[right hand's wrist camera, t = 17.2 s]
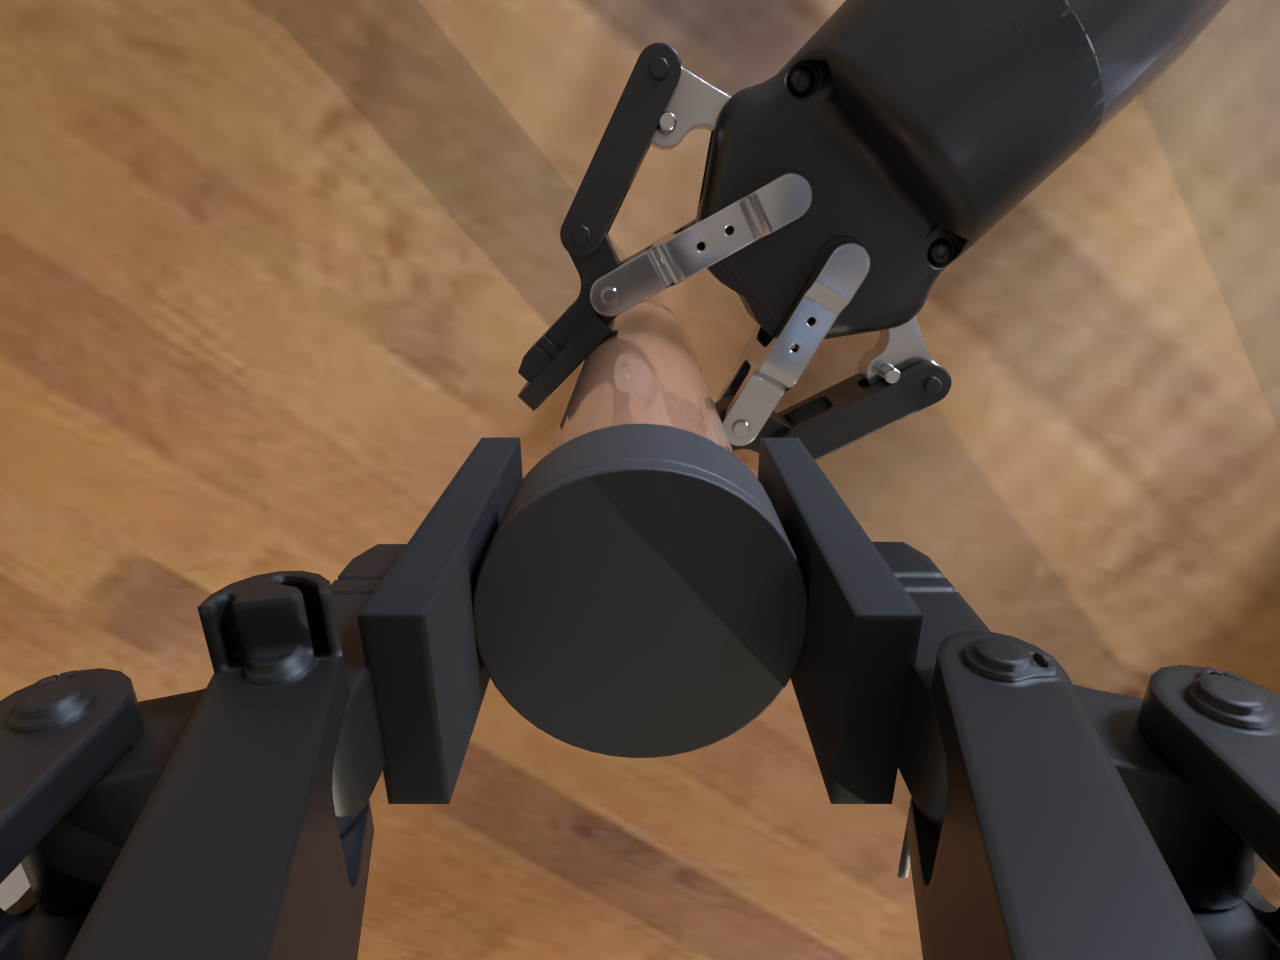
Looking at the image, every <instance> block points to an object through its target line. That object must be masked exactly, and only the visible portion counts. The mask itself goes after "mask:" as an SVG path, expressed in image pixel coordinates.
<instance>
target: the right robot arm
mask: <svg viewBox="0 0 1280 960" xmlns="http://www.w3.org/2000/svg"><path fill="white" fill-rule="evenodd" d="M522 480H523V478H522V462H521V447H520V438H481V440H480V441H479V442H478V444H477V445H476V447H475V448H474V450H473V451H472V452H471V454H470V455H469V457H468V458H467V460H466V461H465V462H464V464H463V465H462V467H461V468H460V469H459V471H458V472H457V474H456V475H455V477H454V478H453V479H452V481H451V482H450V484H449V485H448V487H447V488H446V489H445V491H444V492H443V494H442V495H441V497H440V498H439V499H438V501H437V502H436V504H435V505H434V507H433V508H432V509H431V511H430V512H429V514H428V515H427V517H426V518H425V519H424V521H423V522H422V524H421V525H420V526H419V528H418V529H417V531H416V532H415V534H414V535H413V536H412V538H411V539H410V541H409V542H408V544H377V545H376V546H374V547H372V548H371V549H369V550H367V551H366V552H364V553H362V554H360V555H359V556H357V557H355V558H354V559H352V560H351V562H350V563H349V564H348V565H347V567H346V568H345V569H344V570H343V571H342V573H341V574H340V575H339V576H338V580H335V581H334V582H333V583H332V585H330V582H329V581H328V580H327V579H325V578H324V577H322V576H321V575H320V574H315V573H310V572H305V571H279V572H273V573H268V574H262V575H257V576H253V577H250V578H247V579H244V580H241V581H238V582H235V583H232V584H230V585H228V586H226V587H224V588H222V589H221V590H219V591H217V592H215V593H213V594H211V595H210V596H209V597H208V598H207V599H206V600H205V601H204V602H203V603H202V604H201V605H200V606H199V607H198V611H199V615H200V619H201V623H202V627H203V631H204V635H205V638H206V642H207V646H208V650H209V654H210V658H211V661H212V665H213V669H214V675H213V677H212V678H211V680H210V682H209V684H208V686H207V688H206V689H202V690H198V691H194V692H189V693H183V694H178V695H173V696H168V697H162V698H157V699H152V700H147V701H142V702H138V701H137V698H136V694H135V691H134V688H133V685H132V682H131V679H130V678H129V677H127V676H126V675H125V674H123V673H122V672H121V671H116V670H109V669H101V668H99V669H90V670H81V671H70V672H65V673H61V674H60V675H59V676H57V674H56V675H53V676H50V677H47V678H44V679H41V680H39V681H38V682H36V683H35V684H33V685H30V686H28V687H26V688H23V689H21V690H19V691H16V692H14V693H13V694H11V695H9V696H8V697H6V698H5V699H3V700H1V701H0V884H1V883H2V882H3V881H4V879H5V878H6V877H7V876H8V875H9V874H10V873H11V872H12V871H13V870H14V869H15V868H16V867H17V866H18V865H19V864H20V863H21V864H22V867H23V869H24V871H25V874H26V876H27V878H28V881H29V883H30V885H31V887H30V888H29V889H28V890H27V891H26V892H25V893H24V895H23V896H22V897H21V898H20V899H19V900H18V901H17V902H16V903H14V904H13V905H12V906H11V907H9V908H8V909H7V910H6V911H3V910H2V909H1V908H0V960H357V956H358V948H359V940H360V933H361V925H362V918H363V910H364V902H365V895H366V887H367V879H368V872H369V864H370V857H371V849H372V841H373V834H374V827H373V820H372V813H371V808H370V802H369V798H370V796H371V794H372V792H373V790H374V788H375V785H376V783H377V781H378V779H379V777H380V775H381V772H382V770H383V773H384V779H385V785H386V791H387V797H388V803H389V804H449V803H450V800H451V797H452V794H453V791H454V787H455V784H456V781H457V778H458V775H459V772H460V769H461V766H462V763H463V760H464V756H465V753H466V750H467V747H468V744H469V741H470V738H471V735H472V732H473V729H474V725H475V722H476V719H477V716H478V713H479V710H480V707H481V704H482V701H483V697H484V694H485V691H486V688H487V685H488V682H489V679H490V676H489V674H488V673H487V671H486V669H485V666H484V664H483V662H482V659H481V657H480V654H479V651H478V648H477V644H476V639H475V630H474V620H473V594H474V589H475V584H476V579H477V576H478V573H479V570H480V567H481V565H482V562H483V559H484V557H485V555H486V553H487V550H488V548H489V546H490V544H491V541H492V539H493V537H494V535H495V533H496V530H497V528H498V526H499V524H500V521H501V519H502V517H503V515H504V513H505V510H506V508H507V506H508V504H509V502H510V500H511V498H512V496H513V494H514V492H515V491H516V489H517V487H518V486H519V484H520V483H521V482H522ZM758 481H759V482H760V483H761V485H762V486H763V488H764V490H765V491H766V493H767V495H768V497H769V498H770V500H771V502H772V504H773V507H774V509H775V511H776V513H777V515H778V518H779V520H780V522H781V524H782V526H783V529H784V531H785V533H786V535H787V537H788V540H789V542H790V544H791V547H792V549H793V551H794V553H795V555H796V557H797V560H798V563H799V565H800V568H801V570H802V573H803V576H804V580H805V585H806V590H807V594H808V614H807V625H806V635H805V643H804V647H803V651H802V654H801V656H800V659H799V661H798V664H797V666H796V668H795V671H794V672H793V674H792V676H791V677H790V678H791V681H792V684H793V687H794V690H795V693H796V696H797V699H798V702H799V706H800V709H801V712H802V715H803V718H804V721H805V724H806V727H807V730H808V733H809V737H810V740H811V743H812V746H813V749H814V752H815V755H816V758H817V761H818V764H819V768H820V771H821V774H822V777H823V780H824V783H825V786H826V789H827V792H828V795H829V799H830V802H831V804H892V799H893V793H894V787H895V781H896V775H897V769H898V768H899V770H900V772H901V774H902V776H903V779H904V781H905V783H906V785H907V787H908V789H909V792H910V794H911V796H912V797H911V802H910V808H909V813H908V819H907V824H906V830H905V835H904V841H903V847H902V852H901V858H900V864H899V871H898V877H901V878H905V879H907V878H908V873H909V867H910V864H911V870H912V878H913V885H914V893H915V901H916V908H917V916H918V923H919V931H920V939H921V946H922V954H923V960H1280V907H1279V908H1278V909H1277V908H1275V907H1274V906H1273V905H1272V904H1271V903H1269V902H1268V901H1267V900H1266V899H1265V898H1264V897H1263V896H1262V895H1261V894H1260V893H1259V892H1258V891H1257V890H1256V889H1255V887H1254V886H1253V885H1252V884H1251V882H1252V880H1253V878H1254V875H1255V873H1256V871H1257V868H1258V866H1259V864H1260V861H1261V859H1262V860H1263V861H1264V862H1265V863H1266V864H1267V865H1268V866H1269V867H1270V868H1271V869H1272V870H1273V871H1274V872H1275V873H1276V874H1277V875H1278V876H1279V877H1280V696H1278V695H1276V694H1275V693H1273V692H1272V691H1270V690H1268V689H1267V688H1264V687H1262V686H1260V685H1257V684H1255V683H1252V682H1250V681H1248V680H1246V679H1245V678H1243V677H1241V676H1239V675H1236V674H1233V673H1230V672H1226V671H1225V672H1222V671H1221V670H1218V669H1213V668H1209V667H1194V666H1185V665H1179V666H1171V667H1164V668H1161V669H1159V670H1158V671H1157V672H1155V673H1154V674H1153V675H1151V677H1150V680H1149V683H1148V687H1147V690H1146V693H1145V696H1144V699H1140V698H1135V697H1130V696H1124V695H1119V694H1114V693H1109V692H1103V691H1098V690H1093V689H1088V688H1084V687H1080V686H1076V685H1072V683H1071V681H1070V679H1069V677H1068V675H1067V673H1066V672H1065V670H1064V669H1063V668H1062V667H1061V666H1060V665H1059V663H1058V662H1057V661H1056V660H1055V659H1054V658H1053V657H1052V656H1050V655H1049V654H1047V653H1045V652H1044V651H1042V650H1041V649H1039V648H1038V647H1036V646H1035V645H1032V644H1030V643H1027V642H1025V641H1022V640H1020V639H1017V638H1015V637H1012V636H1008V635H1003V634H999V633H994V632H991V631H990V630H989V629H988V628H987V626H986V625H985V624H984V623H983V622H982V620H981V619H980V618H979V617H978V616H977V614H976V613H975V612H974V611H973V610H972V608H971V607H970V606H969V605H968V604H967V603H966V601H965V600H964V599H963V598H962V597H961V595H960V594H959V593H958V592H955V588H954V587H953V586H952V585H951V583H950V582H949V581H948V580H947V579H946V578H943V574H942V573H941V571H940V570H939V569H938V568H937V567H936V565H935V564H934V563H933V562H932V561H931V559H930V558H929V557H928V556H926V555H924V554H923V553H921V552H919V551H918V550H916V549H914V548H912V547H911V546H909V545H907V544H906V543H904V542H871V540H870V539H869V537H868V536H867V534H866V533H865V532H864V530H863V529H862V527H861V526H860V524H859V523H858V522H857V520H856V519H855V517H854V516H853V514H852V513H851V512H850V510H849V509H848V507H847V506H846V504H845V503H844V502H843V500H842V499H841V497H840V496H839V495H838V493H837V492H836V490H835V489H834V487H833V486H832V485H831V483H830V482H829V480H828V479H827V477H826V476H825V475H824V473H823V472H822V470H821V469H820V467H819V466H818V465H817V463H816V462H815V460H814V459H813V457H812V456H811V455H810V453H809V452H808V450H807V449H806V448H805V446H804V445H803V443H802V442H801V440H800V439H799V438H760V453H759V468H758Z"/></svg>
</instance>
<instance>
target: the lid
mask: <svg viewBox="0 0 1280 960" xmlns="http://www.w3.org/2000/svg"><path fill="white" fill-rule="evenodd" d="M807 614H808V594H807V590H806V585H805V580H804V576H803V573H802V570H801V568H800V565H799V563H798V560H797V557H796V555H795V553H794V551H793V549H792V547H791V544H790V542H789V540H788V537H787V535H786V533H785V531H784V529H783V526H782V524H781V522H780V520H779V518H778V515H777V513H776V511H775V509H774V507H773V504H772V502H771V500H770V498H769V497H768V495H767V493H766V491H765V490H764V488H763V486H762V485H761V483H760V482H759V481H758V479H757V478H756V477H755V475H754V474H753V473H752V472H751V471H750V470H749V469H748V468H747V467H746V466H745V465H744V464H743V463H742V462H741V461H740V460H739V459H738V458H737V457H736V456H734V455H733V454H732V453H730V452H729V451H727V450H726V449H725V448H723V447H722V446H720V445H718V444H716V443H715V442H713V441H711V440H709V439H707V438H705V437H703V436H700V435H698V434H695V433H692V432H690V431H687V430H683V429H679V428H675V427H671V426H665V425H657V424H624V425H616V426H609V427H605V428H602V429H598V430H594V431H590V432H588V433H586V434H583V435H581V436H578V437H576V438H573V439H571V440H570V441H568V442H566V443H564V444H563V445H561V446H559V447H557V448H556V449H554V450H553V451H552V452H551V453H549V454H548V455H547V456H545V457H544V458H543V459H541V460H540V461H539V462H538V463H537V464H536V465H535V466H534V467H533V468H532V469H531V470H530V471H529V472H528V474H527V475H526V476H525V478H524V479H523V480H522V482H521V483H520V484H519V486H518V487H517V489H516V491H515V492H514V494H513V496H512V498H511V500H510V502H509V504H508V506H507V508H506V510H505V513H504V515H503V517H502V519H501V521H500V524H499V526H498V528H497V530H496V533H495V535H494V537H493V539H492V541H491V544H490V546H489V548H488V550H487V553H486V555H485V557H484V559H483V562H482V565H481V567H480V570H479V573H478V576H477V579H476V584H475V589H474V594H473V620H474V630H475V639H476V644H477V648H478V651H479V654H480V657H481V659H482V662H483V664H484V666H485V669H486V671H487V673H488V674H489V676H490V678H491V679H492V681H493V683H494V685H495V686H496V688H497V689H498V690H499V692H500V693H501V694H502V695H503V697H504V698H505V699H506V700H507V702H508V703H509V704H510V705H511V706H512V707H513V708H514V709H515V710H516V711H518V712H519V713H520V714H521V715H522V716H523V717H524V718H525V719H527V720H528V721H529V722H531V723H532V724H533V725H535V726H536V727H537V728H539V729H541V730H542V731H544V732H546V733H548V734H549V735H551V736H553V737H554V738H557V739H559V740H561V741H563V742H566V743H568V744H570V745H572V746H575V747H578V748H582V749H585V750H588V751H591V752H595V753H600V754H605V755H610V756H619V757H629V758H653V757H662V756H671V755H676V754H680V753H685V752H690V751H693V750H696V749H699V748H702V747H705V746H708V745H711V744H713V743H715V742H717V741H720V740H722V739H724V738H726V737H728V736H730V735H732V734H733V733H735V732H737V731H738V730H740V729H742V728H743V727H745V726H746V725H747V724H749V723H750V722H751V721H753V720H754V719H755V718H756V717H758V716H759V715H760V714H761V713H762V712H763V711H764V710H765V709H766V708H767V707H768V706H769V705H770V704H771V703H772V702H773V701H774V700H775V699H776V698H777V696H778V695H779V694H780V692H781V691H782V690H783V689H784V687H785V686H786V684H787V683H788V681H789V679H790V677H791V676H792V674H793V672H794V671H795V668H796V666H797V664H798V661H799V659H800V656H801V654H802V651H803V647H804V643H805V635H806V625H807Z"/></svg>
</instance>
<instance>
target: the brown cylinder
mask: <svg viewBox="0 0 1280 960" xmlns="http://www.w3.org/2000/svg"><path fill="white" fill-rule="evenodd" d="M614 320H615V322H614V326H613V331H612V332H611V333H610V334H609V335H608V336H607V337H606V338H605V339H604V340H603V341H602V342H601V343H600V344H599V345H598V346H597V347H596V348H595V349H594V350H593V351H592V352H591V353H590V354H589V355H588V357H587V358H586V359H585V360H584V361H583V362H582V364H581V366H580V369H579V371H578V374H577V377H576V379H575V382H574V384H573V387H572V389H571V392H570V395H569V397H568V400H567V402H566V405H565V408H564V410H563V413H562V415H561V418H560V420H559V423H558V426H557V428H556V431H555V433H554V436H553V439H552V441H551V444H550V446H549V449H548V451H547V454H546V456H547V455H548V454H549V453H551V452H552V451H553V450H554V449H556V448H557V447H559V446H561V445H563V444H564V443H566V442H568V441H570V440H571V439H573V438H576V437H578V436H581V435H583V434H586V433H588V432H590V431H594V430H598V429H602V428H605V427H609V426H616V425H624V424H657V425H665V426H671V427H675V428H679V429H683V430H687V431H690V432H692V433H695V434H698V435H700V436H703V437H705V438H707V439H709V440H711V441H713V442H715V443H716V444H718V445H720V446H722V447H723V448H725V449H726V450H727V451H729V452H730V453H732V454H733V455H734V452H733V450H732V447H731V445H730V442H729V440H728V437H727V434H726V432H725V429H724V427H723V424H722V422H721V419H720V416H719V414H718V411H717V409H716V406H715V404H714V401H713V398H712V396H711V393H710V391H709V388H708V386H707V383H706V380H705V378H704V375H703V373H702V370H701V368H700V365H699V362H698V360H697V357H696V355H695V352H694V350H693V347H692V344H691V342H690V339H689V337H688V334H687V332H686V330H685V328H684V327H683V325H682V324H681V322H680V321H679V320H678V319H677V318H676V317H675V316H674V315H673V314H672V313H670V312H669V311H667V310H666V309H664V308H662V307H659V306H657V305H653V304H649V303H639V304H637V305H635V306H633V307H632V308H630V309H628V310H626V311H624V312H623V313H621V314H619V315H618V316H617V317H616V318H615V319H614ZM734 456H735V455H734Z"/></svg>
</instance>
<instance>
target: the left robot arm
mask: <svg viewBox="0 0 1280 960" xmlns="http://www.w3.org/2000/svg"><path fill="white" fill-rule="evenodd" d="M1229 1H1230V0H846V1H845V2H844V3H843V4H842V5H841V6H840V7H839V9H838V10H837V11H836V12H835V13H834V14H833V15H832V16H831V17H830V18H829V19H828V20H827V21H826V22H825V24H824V25H823V26H822V27H821V28H820V29H819V30H818V31H817V32H816V33H815V34H814V35H813V36H812V37H811V38H810V40H809V41H808V42H807V43H806V44H805V45H804V46H803V47H802V48H801V49H800V50H799V51H798V52H797V53H796V54H795V56H794V57H793V58H792V59H791V60H790V61H789V62H788V63H787V64H786V65H785V66H784V67H783V68H782V69H781V70H780V72H779V73H778V74H777V75H775V76H774V77H772V78H771V79H769V80H767V81H765V82H763V83H761V84H759V85H756V86H752V87H749V88H746V89H743V90H741V91H739V92H737V93H736V94H734V95H733V96H732V97H730V96H728V95H727V94H725V93H724V92H722V91H720V90H719V89H717V88H715V87H714V86H712V85H710V84H709V83H707V82H705V81H704V80H702V79H701V78H699V77H697V76H696V75H694V74H692V73H691V72H689V71H687V70H686V69H684V68H683V67H681V61H680V58H679V56H678V54H677V52H676V51H675V50H674V49H673V48H672V47H671V46H669V45H667V44H664V43H655V44H652V45H649V46H648V47H646V48H645V49H644V50H643V52H642V53H641V54H640V56H639V58H638V61H637V63H636V65H635V67H634V69H633V72H632V74H631V76H630V78H629V80H628V82H627V85H626V87H625V89H624V91H623V93H622V96H621V98H620V100H619V102H618V104H617V107H616V109H615V111H614V113H613V115H612V117H611V120H610V122H609V124H608V126H607V128H606V131H605V133H604V135H603V137H602V139H601V142H600V144H599V146H598V148H597V150H596V152H595V155H594V157H593V159H592V161H591V163H590V166H589V168H588V170H587V172H586V174H585V176H584V179H583V181H582V183H581V185H580V187H579V190H578V192H577V194H576V196H575V198H574V201H573V203H572V205H571V207H570V209H569V211H568V214H567V216H566V218H565V220H564V222H563V225H562V227H561V241H562V244H563V246H564V247H565V249H566V250H567V251H568V252H569V254H570V256H571V258H572V260H573V262H574V264H575V266H576V269H577V271H578V273H579V275H580V279H581V291H580V295H579V297H578V299H577V300H576V301H575V302H574V303H573V304H572V305H571V306H570V307H569V308H568V309H567V310H566V311H565V312H564V313H563V315H562V316H561V317H560V318H559V319H558V320H557V321H556V322H555V323H554V324H553V325H552V326H551V327H550V328H549V329H548V330H547V331H546V333H545V334H544V335H543V336H542V337H541V338H540V339H539V340H538V341H537V342H536V343H535V344H534V345H533V346H532V347H531V348H530V350H529V351H528V352H527V353H526V355H525V356H524V358H523V360H522V363H521V366H520V368H519V371H518V373H519V374H520V375H522V376H523V377H524V378H525V379H526V380H527V381H528V382H527V383H526V384H525V386H524V387H523V389H522V390H521V392H520V393H519V395H518V397H519V398H520V399H521V400H522V401H523V402H525V403H526V404H527V405H528V406H529V407H530V408H531V409H532V410H533V411H534V410H535V409H536V408H538V407H539V406H540V405H541V404H542V403H543V402H544V401H545V400H546V399H547V398H548V397H549V395H550V394H551V393H552V392H553V391H554V390H555V389H556V388H557V387H558V386H559V385H560V384H561V383H562V382H563V381H564V380H565V379H566V378H567V377H568V376H569V375H570V374H571V373H572V372H573V371H574V370H575V369H576V368H577V367H578V366H579V365H580V364H581V363H582V362H583V361H584V360H585V359H586V358H587V357H588V355H589V354H590V353H591V352H592V351H593V350H594V349H595V348H596V347H597V346H598V345H599V344H600V343H601V342H602V341H603V340H604V339H605V338H606V337H607V336H608V335H609V334H610V333H611V332H612V331H613V326H614V322H615V320H614V319H615V318H616V317H617V316H618V315H619V314H621V313H623V312H624V311H626V310H628V309H630V308H632V307H633V306H635V305H637V304H639V303H641V302H642V301H644V300H646V299H648V298H650V297H651V296H653V295H655V294H657V293H659V292H660V291H662V290H664V289H666V288H668V287H670V286H673V285H676V284H678V283H680V282H682V281H684V280H686V279H688V278H689V277H691V276H693V275H695V274H697V273H698V272H700V271H702V270H704V269H706V268H707V269H708V270H709V271H710V272H711V273H712V274H713V275H714V277H715V278H717V279H718V280H719V281H720V282H721V283H723V284H724V285H726V286H728V287H729V288H731V289H732V290H734V291H736V292H737V293H738V295H739V296H740V298H741V300H742V302H743V304H744V306H745V308H746V310H747V312H748V313H749V314H750V315H751V316H752V317H753V319H754V320H755V321H756V322H757V323H758V326H757V327H756V329H755V331H754V333H753V334H752V336H751V338H750V339H749V341H748V343H747V345H746V346H745V349H744V351H743V354H742V358H741V360H740V362H739V364H738V366H737V367H736V369H735V371H734V372H733V374H732V376H731V377H730V379H729V381H728V382H727V384H726V386H725V388H724V389H723V391H722V393H721V394H720V396H719V398H718V399H717V401H716V403H715V406H716V409H717V411H718V414H719V416H720V419H721V422H722V424H723V427H724V429H725V432H726V434H727V437H728V440H729V442H730V445H731V447H732V450H733V451H735V450H739V449H751V450H754V451H756V452H759V453H760V438H799V439H800V440H801V442H802V443H803V445H804V446H805V448H806V449H807V450H808V452H809V453H810V455H811V456H812V457H813V459H814V460H817V459H819V458H821V457H823V456H825V455H827V454H829V453H831V452H833V451H836V450H838V449H840V448H842V447H844V446H846V445H848V444H850V443H852V442H854V441H856V440H859V439H861V438H863V437H865V436H867V435H869V434H871V433H873V432H875V431H877V430H880V429H882V428H884V427H886V426H888V425H890V424H892V423H894V422H896V421H898V420H901V419H903V418H905V417H907V416H909V415H911V414H913V413H915V412H917V411H919V410H921V409H924V408H926V407H928V406H930V405H932V404H934V403H936V402H938V401H940V400H942V399H943V398H944V397H945V396H946V395H947V394H948V392H949V390H950V387H951V377H950V374H949V373H948V372H947V370H945V369H944V368H942V367H940V366H938V365H937V364H936V363H935V362H933V360H932V358H931V355H930V353H929V350H928V348H927V345H926V342H925V340H924V337H923V334H922V332H921V329H920V327H919V324H918V321H917V319H916V315H917V314H918V312H919V311H920V310H921V308H922V307H923V305H924V303H925V301H926V298H927V296H928V293H929V291H930V289H931V287H932V285H933V283H934V281H935V280H936V278H937V277H938V275H939V274H940V273H941V272H942V271H943V269H944V268H945V267H947V266H948V265H949V264H950V263H951V262H953V261H954V260H955V259H956V258H958V257H959V256H960V255H961V254H962V253H964V252H965V251H966V250H967V249H968V248H970V247H971V246H972V245H973V244H974V243H975V242H976V241H977V240H978V239H979V238H981V237H982V236H983V235H984V234H985V233H986V232H987V231H988V230H989V229H991V228H992V227H993V226H994V225H995V224H996V223H997V222H998V221H999V220H1001V219H1002V218H1003V217H1004V216H1005V215H1006V214H1007V213H1008V212H1009V211H1010V210H1012V209H1013V208H1014V207H1015V206H1016V205H1017V204H1018V203H1019V202H1020V201H1022V200H1023V199H1024V198H1025V197H1026V196H1027V195H1028V194H1029V193H1030V192H1032V191H1033V190H1034V189H1035V188H1036V187H1037V186H1038V185H1039V184H1040V183H1042V182H1043V181H1044V180H1045V179H1046V178H1047V177H1048V176H1049V175H1050V174H1051V173H1053V172H1054V171H1055V170H1056V169H1057V168H1058V167H1059V166H1060V165H1061V164H1063V163H1064V162H1065V161H1066V160H1067V159H1068V158H1069V157H1070V156H1071V155H1073V154H1074V153H1075V152H1076V151H1077V150H1078V149H1079V148H1080V147H1081V146H1083V145H1084V144H1085V143H1086V142H1087V141H1088V140H1089V139H1090V138H1091V137H1093V136H1094V135H1095V134H1096V133H1097V132H1098V131H1099V130H1100V129H1101V128H1102V127H1104V126H1105V125H1106V124H1107V123H1108V122H1109V121H1110V120H1111V119H1112V118H1114V117H1115V116H1116V115H1117V114H1118V113H1119V112H1120V111H1121V110H1122V109H1123V108H1125V107H1126V106H1127V105H1128V104H1129V103H1130V102H1131V101H1132V100H1133V99H1135V98H1136V97H1137V96H1138V95H1139V94H1140V93H1141V92H1142V91H1143V90H1145V89H1146V88H1147V87H1148V86H1149V85H1150V84H1151V83H1152V82H1153V81H1155V80H1156V79H1157V78H1158V77H1159V76H1160V75H1161V74H1162V73H1163V72H1164V71H1165V70H1166V69H1167V68H1168V67H1169V66H1170V65H1171V64H1172V63H1174V62H1175V61H1176V60H1177V59H1178V57H1179V56H1180V55H1181V54H1182V53H1183V52H1184V51H1185V50H1186V49H1187V48H1188V47H1189V45H1190V44H1191V43H1192V42H1193V41H1194V40H1195V39H1196V38H1197V37H1198V36H1199V35H1200V33H1201V32H1202V31H1203V30H1204V29H1205V28H1206V27H1207V25H1208V24H1209V23H1210V22H1211V21H1212V20H1213V18H1214V17H1215V16H1216V15H1217V14H1218V13H1219V11H1220V10H1221V9H1222V8H1223V7H1224V6H1225V5H1226V4H1227V3H1228V2H1229ZM695 129H707V130H709V131H711V137H710V143H709V149H708V154H707V160H706V166H705V171H704V177H703V183H702V189H701V194H700V200H699V206H698V211H697V217H696V218H695V219H694V220H692V221H690V222H688V223H687V224H685V225H683V226H681V227H680V228H678V229H676V230H674V231H673V232H671V233H669V234H667V235H666V236H664V237H662V238H660V239H659V240H657V241H655V242H654V243H652V244H651V245H649V246H647V247H646V248H644V249H642V250H641V251H639V252H637V253H635V254H634V255H632V256H630V257H628V258H627V259H625V260H623V261H621V262H620V261H619V258H618V256H617V254H616V252H615V250H614V247H613V245H612V243H611V241H610V239H609V236H608V232H609V230H610V228H611V226H612V224H613V222H614V219H615V217H616V215H617V213H618V211H619V209H620V207H621V205H622V203H623V201H624V199H625V197H626V195H627V192H628V190H629V188H630V186H631V184H632V182H633V180H634V178H635V176H636V174H637V172H638V170H639V168H640V165H641V163H642V161H643V159H644V157H645V155H646V153H647V151H648V149H649V147H650V145H652V146H654V147H655V148H657V149H660V150H670V149H673V148H675V147H676V146H678V145H679V144H680V143H681V141H682V140H683V138H684V137H685V136H686V135H687V134H688V133H689V132H690V131H692V130H695ZM879 330H880V337H879V340H878V342H877V344H876V345H875V346H874V347H873V348H872V349H871V350H869V351H868V352H866V353H865V354H864V355H863V357H862V358H861V360H860V362H859V373H858V374H856V375H854V376H852V377H850V378H848V379H846V380H844V381H842V382H840V383H838V384H836V385H834V386H832V387H830V388H828V389H826V390H824V391H822V392H820V393H818V394H815V395H813V396H811V397H809V398H807V399H805V400H803V401H801V402H799V403H797V404H795V405H793V406H791V407H789V408H787V409H785V410H783V411H781V412H779V413H775V412H773V410H774V408H775V407H776V405H777V403H778V402H779V400H780V399H781V397H782V396H783V394H784V393H785V392H786V391H788V390H790V389H791V388H792V387H793V386H794V385H795V383H796V382H797V380H798V379H799V377H800V376H801V374H802V373H803V371H804V369H805V368H806V366H807V365H808V363H809V361H810V360H811V358H812V357H813V355H814V354H815V352H816V350H817V349H818V347H819V346H820V344H821V342H822V341H823V339H829V338H835V337H841V336H847V335H854V334H860V333H866V332H872V331H879ZM793 344H796V346H795V348H794V349H791V346H792V345H793Z"/></svg>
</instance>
